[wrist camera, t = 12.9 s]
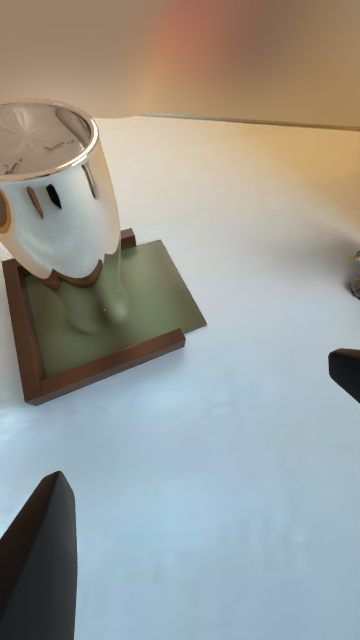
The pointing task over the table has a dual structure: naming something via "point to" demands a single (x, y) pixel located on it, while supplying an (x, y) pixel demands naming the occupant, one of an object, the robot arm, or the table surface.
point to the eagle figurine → (358, 284)
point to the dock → (107, 348)
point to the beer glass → (62, 209)
